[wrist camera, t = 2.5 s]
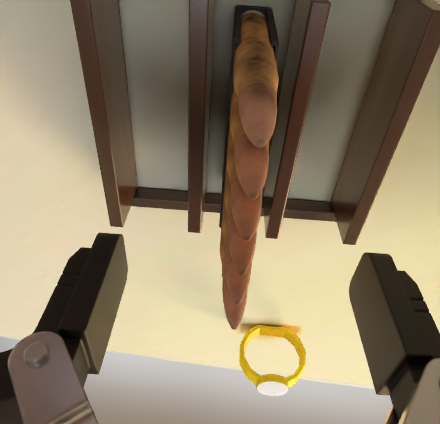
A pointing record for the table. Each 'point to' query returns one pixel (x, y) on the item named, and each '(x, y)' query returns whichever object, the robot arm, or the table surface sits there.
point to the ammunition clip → (246, 148)
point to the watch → (272, 382)
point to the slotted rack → (285, 122)
